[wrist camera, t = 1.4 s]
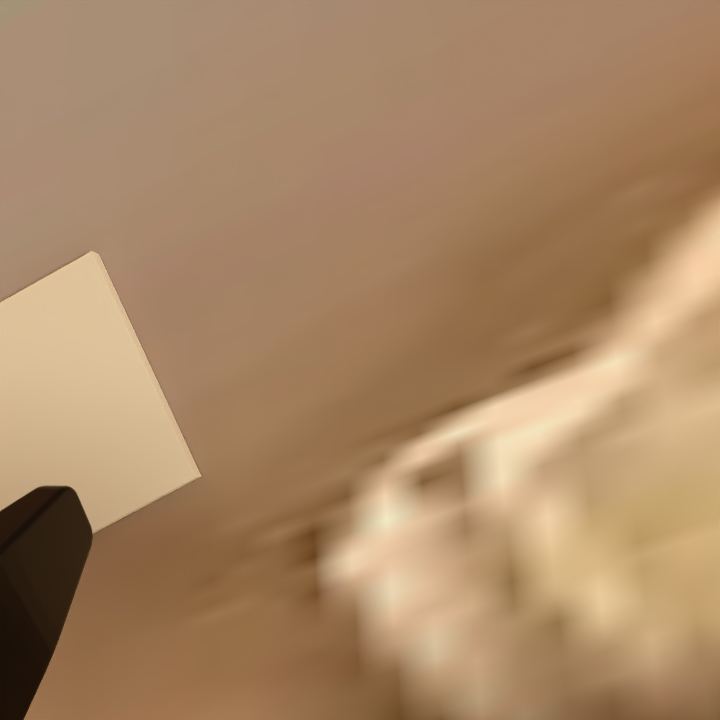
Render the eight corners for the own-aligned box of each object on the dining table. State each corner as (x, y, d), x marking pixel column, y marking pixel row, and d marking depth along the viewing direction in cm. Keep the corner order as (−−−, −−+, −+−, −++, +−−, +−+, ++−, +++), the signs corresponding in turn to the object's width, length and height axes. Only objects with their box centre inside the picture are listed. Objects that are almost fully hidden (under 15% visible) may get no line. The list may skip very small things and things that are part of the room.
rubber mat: (201, 476, 23) (196, 477, 22) (-21, 594, 23) (-31, 597, 23) (98, 254, 24) (92, 250, 24) (-108, 369, 25) (-118, 368, 24)
